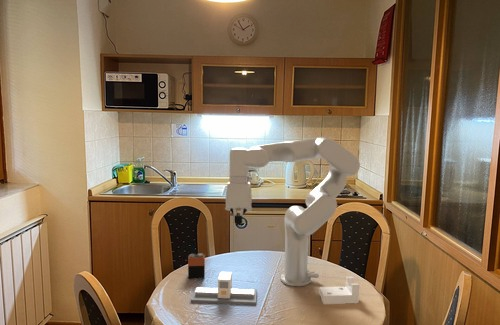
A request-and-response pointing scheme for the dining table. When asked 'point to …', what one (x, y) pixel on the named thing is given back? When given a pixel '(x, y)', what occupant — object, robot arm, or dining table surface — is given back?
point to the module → (224, 284)
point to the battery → (196, 266)
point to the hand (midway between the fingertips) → (238, 224)
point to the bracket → (340, 293)
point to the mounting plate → (224, 299)
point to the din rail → (234, 293)
